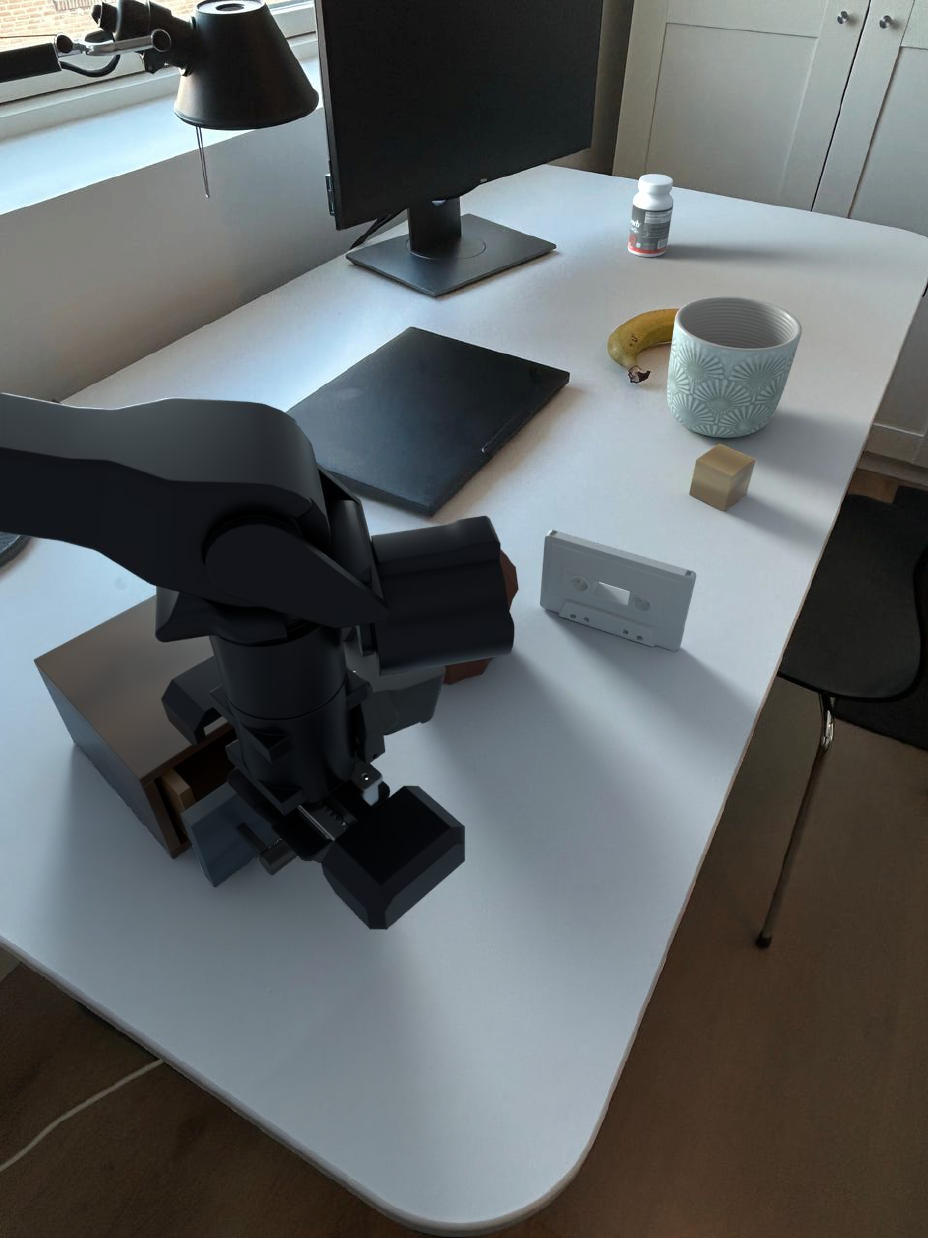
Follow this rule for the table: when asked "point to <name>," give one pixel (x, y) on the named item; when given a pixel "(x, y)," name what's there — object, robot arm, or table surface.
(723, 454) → the oak block
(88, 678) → the cabinet
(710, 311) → the planter
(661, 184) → the pill bottle
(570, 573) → the cassette
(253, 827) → the drawer
